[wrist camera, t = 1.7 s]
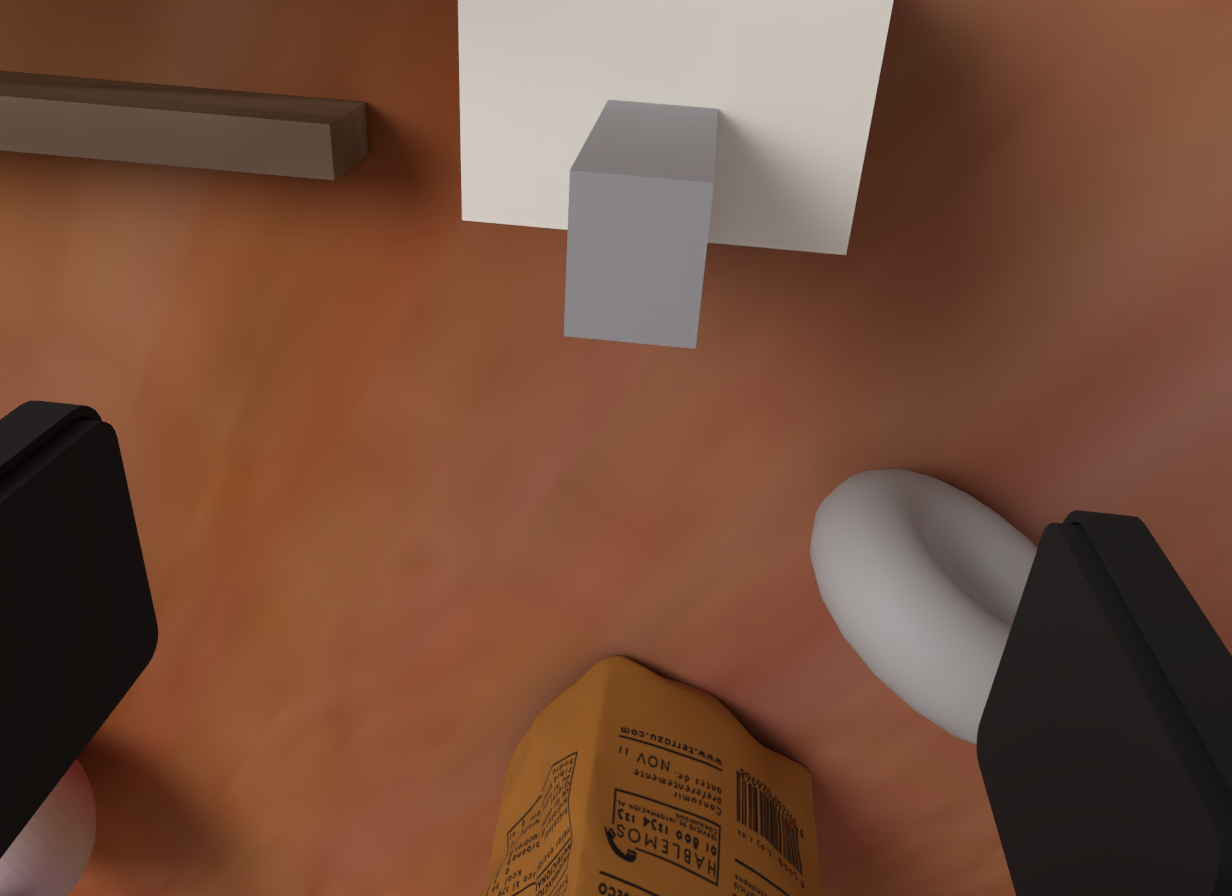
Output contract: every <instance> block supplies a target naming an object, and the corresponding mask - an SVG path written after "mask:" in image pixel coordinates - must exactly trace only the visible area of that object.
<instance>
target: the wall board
mask: <svg viewBox="0 0 1232 896" xmlns="http://www.w3.org/2000/svg"><path fill="white" fill-rule="evenodd" d="M0 150H2V151H13V152H24V153H35V154H46V155H57V156H69V157H80V158H91V159H102V160H113V161H124V162H135V163H146V164H157V165H168V166H180V167H191V168H202V169H213V170H224V171H235V172H246V173H257V174H268V175H279V176H291V177H302V178H313V179H324V180H336V179H337V178H338V177H339V176H341V175H342V174H343V173H345V172H346V171H347V170H348V169H350V168H351V167H352V166H354V165H355V164H356V163H358V162H359V161H360V160H361V159H363V158H364V157H365V156H367V155H368V154H369V149H368V134H367V118H366V103H365V102H358V101H346V100H335V99H323V98H311V97H299V96H288V95H276V94H264V93H252V92H241V91H229V90H217V89H206V88H194V87H182V86H170V85H159V84H147V83H135V82H124V81H112V80H100V79H88V78H77V77H65V76H53V75H41V74H30V73H18V72H6V71H0Z"/></svg>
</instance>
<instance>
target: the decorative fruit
mask: <svg viewBox="0 0 1232 896" xmlns="http://www.w3.org/2000/svg"><path fill="white" fill-rule="evenodd" d="M95 834H96V804H95V798H94V794H93V790H92V787H91V784H90V782H89V779H88V777H87V775H86V773H85V771H84V769H83V767H82V766H81V764H80V763H79V761H78V760H77V759H76V760H75V761H74V763H73V764H72V765H71V767H70V768H69V769H68V771H67V772H66V773H65V774H64V776H63V777H62V778H61V780H60V781H59V782H58V784H57V785H56V786H55V788H54V789H53V790H52V792H51V793H50V794H49V796H48V797H47V798H46V800H45V801H44V802H43V803H42V805H41V806H40V807H39V809H38V810H37V811H36V813H35V814H34V815H33V817H32V818H31V819H30V821H29V822H28V823H27V825H26V826H25V827H24V829H23V830H22V831H21V832H20V834H19V835H18V836H17V838H16V839H15V840H14V842H13V843H12V844H11V846H10V847H9V848H8V850H7V851H6V852H5V854H4V855H3V856H2V858H1V859H0V896H67V895H68V894H69V893H70V892H71V891H72V889H73V888H74V887H75V885H76V884H77V883H78V881H79V879H80V877H81V875H82V873H83V872H84V870H85V868H86V866H87V863H88V861H89V858H90V855H91V852H92V849H93V845H94V841H95Z"/></svg>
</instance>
